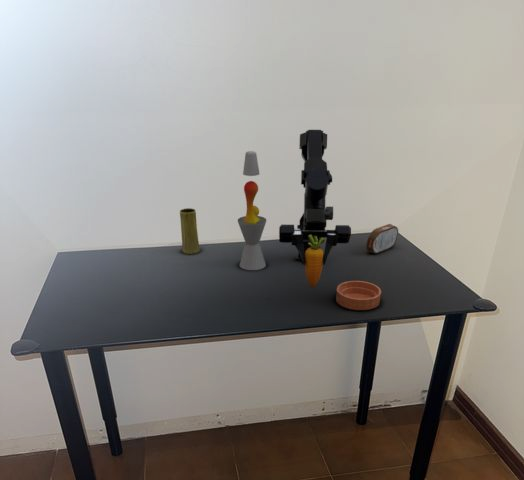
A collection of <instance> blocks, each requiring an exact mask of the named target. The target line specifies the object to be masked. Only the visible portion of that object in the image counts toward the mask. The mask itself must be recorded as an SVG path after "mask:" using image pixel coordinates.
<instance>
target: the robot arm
mask: <svg viewBox="0 0 524 480" xmlns="http://www.w3.org/2000/svg"><path fill="white" fill-rule="evenodd" d="M298 144H299V147H298V148H299V150H300V151H301V153H300V154H301V158H302V159H303V161H304V163H303V169H301V172H300V185H301V186H303V188H304V194H303V195H304V196H303V197H304V198H303V213H302V215H301V216H300V219H299V221H298V223H299V224H297V225H296V228H295V224H281V225H279V227H278V240H279V243H282V244H283V243H284V244H285V243H289V244H291V246H295V248H296V250H297V251H298V256H297V257H295V261H299V262H302V265H304V266H305V252H306V250H307V249H308V248H310V247H311V246H310V245H309V244H308V243H311V241H310V239H309V237H308V236H309V235H312V237H313V239H314V236H317V239H318V243H319V241H320V239H321V238H324V240H323V242H322V243H321V245H323V243H324V242H325V245H324V250H323V251H324V258H323V266H325V265H326V262H327V260H328V257H329V254H330V251H331V250H332V248H333V247H336V246H338V245H337V244H349V242H350V240H351V236H352V227H351V226H350V225H349V224H336V225H335V228H334V229H326V228H327V221H333V219H334V206H326V196H327V194H328V188H329V187H328V186H330V185H331V183H333V175H332V174H331V171H330V170H329V169H328V162H326V161H325V160H324V159H323V157H324V154H325V150H327V148H328V134H327V133H325V132H324V130H321V129H308V130H305V132H303V133H299V143H298ZM325 239H326V240H325ZM314 242H315V239H314ZM311 244H312V243H311ZM321 245H320V246H319V248H321ZM321 249H322V248H321Z"/></svg>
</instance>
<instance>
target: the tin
mask: <svg viewBox="0 0 524 480" xmlns="http://www.w3.org/2000/svg"><path fill="white" fill-rule="evenodd" d="M398 235H399V227H397V226H396V225H393V224H392V223H388V224H385V225H382V226H379V227H376V228H374V229H373V230H372V231H371V232H370V233H369V235H368V237H367V241H366V250H367V252H369V253H371V254H375V255H376V254H380V253H382V252H384V251H387V250H389V249H391V248H392V247H393V246H394V245H395V244H396V242H397V239H398Z"/></svg>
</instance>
